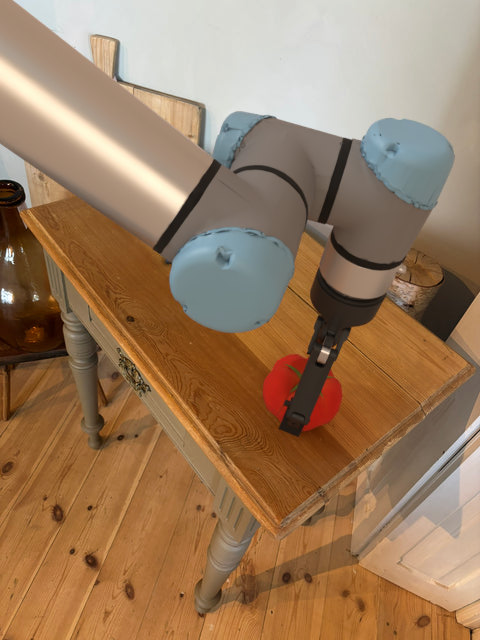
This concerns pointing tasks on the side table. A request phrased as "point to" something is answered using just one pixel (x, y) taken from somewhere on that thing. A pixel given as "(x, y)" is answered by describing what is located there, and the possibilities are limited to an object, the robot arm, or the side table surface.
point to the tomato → (284, 387)
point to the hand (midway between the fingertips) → (303, 390)
